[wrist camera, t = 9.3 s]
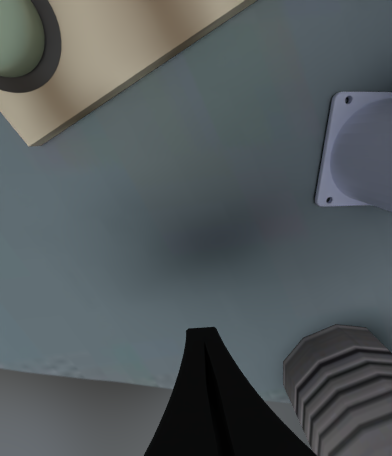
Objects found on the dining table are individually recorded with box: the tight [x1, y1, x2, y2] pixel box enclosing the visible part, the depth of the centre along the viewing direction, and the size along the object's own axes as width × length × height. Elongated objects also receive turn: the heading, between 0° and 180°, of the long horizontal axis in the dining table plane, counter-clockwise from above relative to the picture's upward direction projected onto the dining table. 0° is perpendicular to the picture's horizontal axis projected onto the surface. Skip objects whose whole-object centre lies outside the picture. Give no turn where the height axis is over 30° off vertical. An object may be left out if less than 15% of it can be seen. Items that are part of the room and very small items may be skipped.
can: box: [283, 324, 392, 456], centre depth 21 cm, size 11×11×12 cm
